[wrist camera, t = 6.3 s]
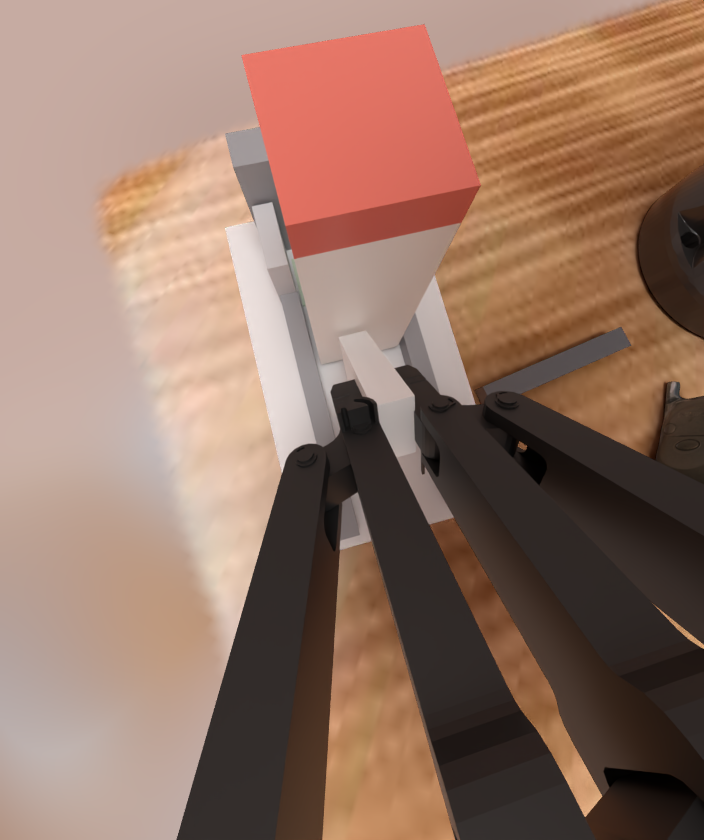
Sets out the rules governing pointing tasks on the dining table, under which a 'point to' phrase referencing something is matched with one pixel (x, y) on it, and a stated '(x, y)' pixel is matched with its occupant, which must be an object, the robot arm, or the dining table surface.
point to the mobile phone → (682, 434)
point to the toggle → (363, 175)
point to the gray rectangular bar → (558, 364)
